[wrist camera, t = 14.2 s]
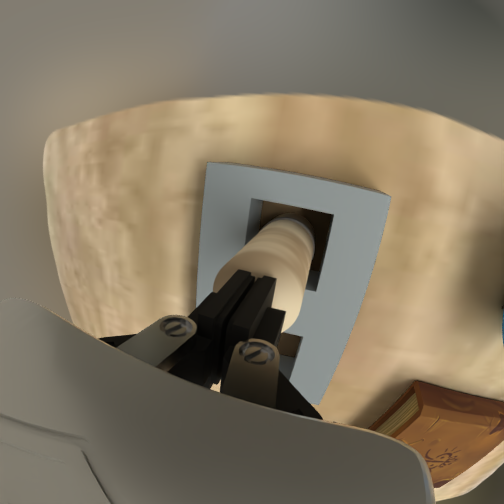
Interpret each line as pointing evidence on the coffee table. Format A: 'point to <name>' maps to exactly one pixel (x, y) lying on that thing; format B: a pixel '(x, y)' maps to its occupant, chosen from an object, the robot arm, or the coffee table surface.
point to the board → (318, 283)
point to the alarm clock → (503, 325)
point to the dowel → (277, 261)
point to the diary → (444, 428)
